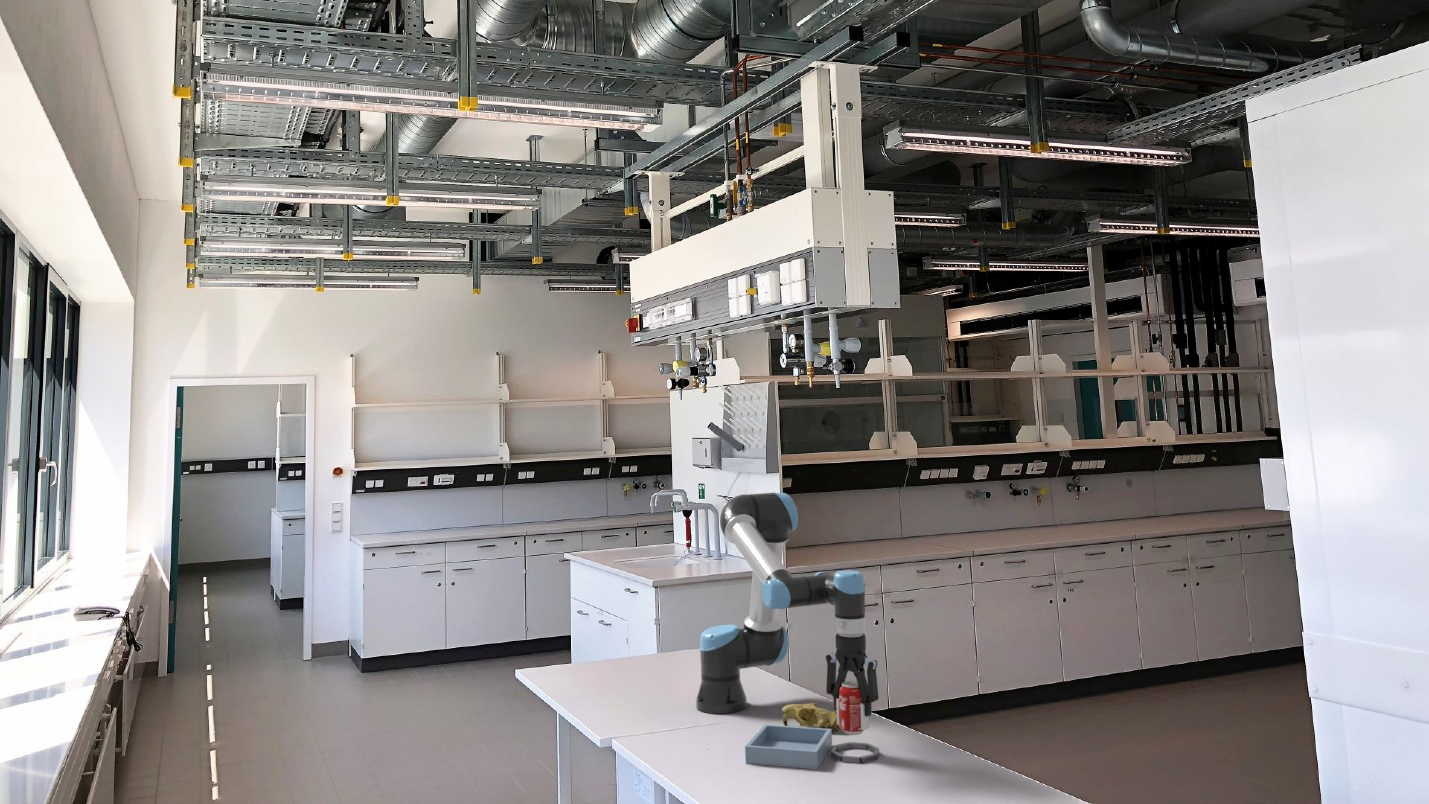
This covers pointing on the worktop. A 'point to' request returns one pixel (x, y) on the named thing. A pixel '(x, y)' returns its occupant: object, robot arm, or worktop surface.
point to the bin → (789, 746)
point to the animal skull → (811, 716)
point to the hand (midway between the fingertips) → (852, 725)
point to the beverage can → (850, 708)
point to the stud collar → (851, 758)
